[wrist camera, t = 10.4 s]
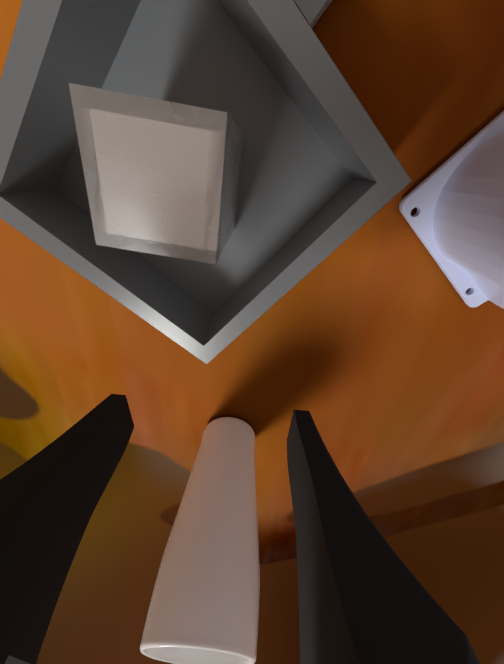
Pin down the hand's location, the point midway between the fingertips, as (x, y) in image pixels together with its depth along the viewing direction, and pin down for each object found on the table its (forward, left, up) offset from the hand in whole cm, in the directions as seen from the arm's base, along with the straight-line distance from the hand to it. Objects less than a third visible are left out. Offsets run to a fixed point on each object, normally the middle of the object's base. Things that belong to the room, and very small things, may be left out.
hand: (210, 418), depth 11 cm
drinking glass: (-9, +11, -10) cm, 17 cm away
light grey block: (+7, -5, -9) cm, 13 cm away
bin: (+7, -5, -10) cm, 13 cm away
